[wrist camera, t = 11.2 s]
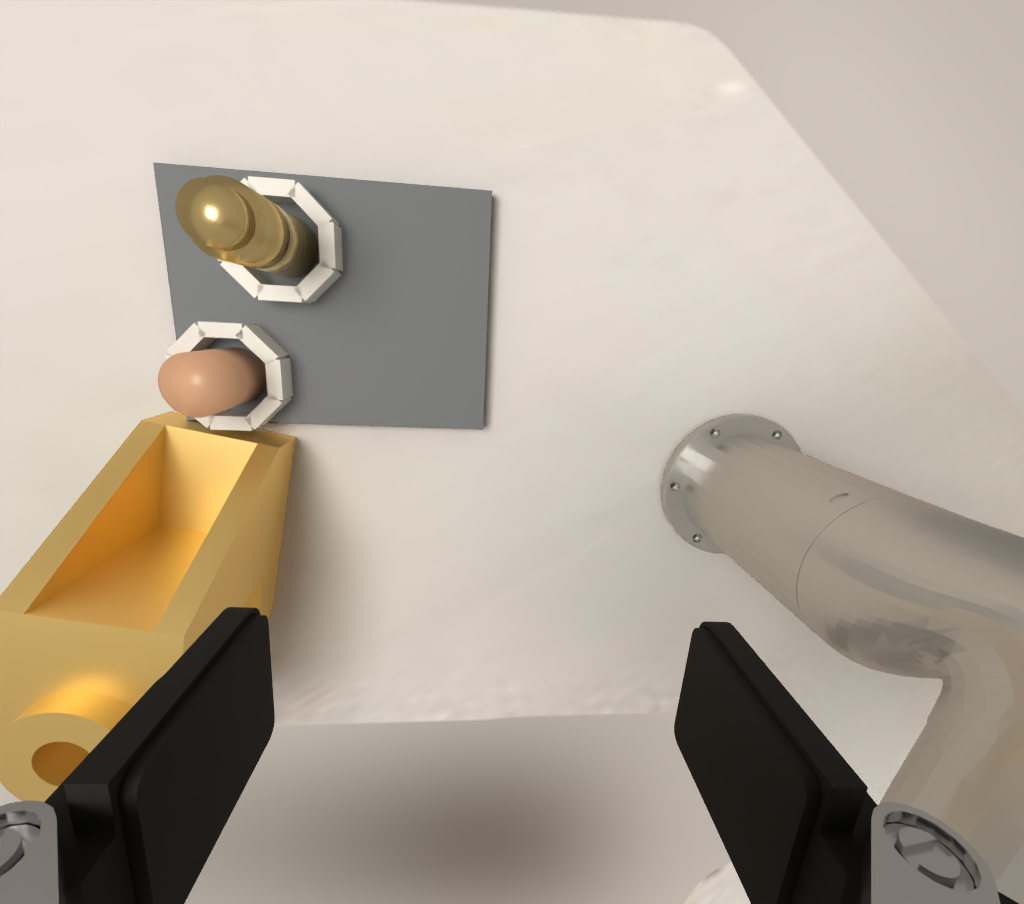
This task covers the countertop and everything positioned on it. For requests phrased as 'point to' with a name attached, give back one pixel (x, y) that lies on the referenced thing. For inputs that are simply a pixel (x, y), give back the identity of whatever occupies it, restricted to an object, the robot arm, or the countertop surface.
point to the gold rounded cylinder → (244, 227)
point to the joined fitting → (226, 376)
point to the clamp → (134, 586)
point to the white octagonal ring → (328, 246)
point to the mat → (360, 302)
